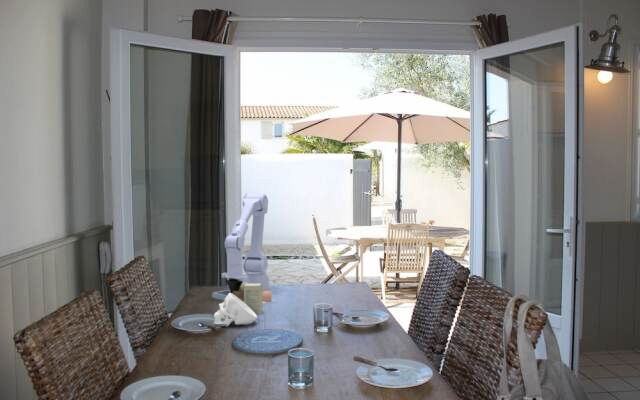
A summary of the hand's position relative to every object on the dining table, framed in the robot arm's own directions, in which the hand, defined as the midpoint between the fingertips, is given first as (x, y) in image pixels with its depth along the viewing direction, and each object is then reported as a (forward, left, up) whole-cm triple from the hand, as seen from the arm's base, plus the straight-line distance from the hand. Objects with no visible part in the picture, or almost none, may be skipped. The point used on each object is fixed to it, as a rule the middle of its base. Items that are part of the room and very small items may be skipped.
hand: (234, 297), depth 248 cm
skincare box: (+9, +22, -3) cm, 24 cm away
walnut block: (0, +3, -1) cm, 4 cm away
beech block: (-7, -5, -1) cm, 9 cm away
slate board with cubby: (-3, +2, -2) cm, 4 cm away
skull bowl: (+21, +26, -3) cm, 33 cm away
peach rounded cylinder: (-7, +12, -1) cm, 14 cm away
